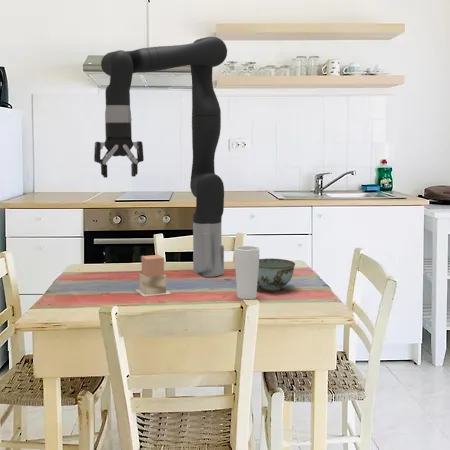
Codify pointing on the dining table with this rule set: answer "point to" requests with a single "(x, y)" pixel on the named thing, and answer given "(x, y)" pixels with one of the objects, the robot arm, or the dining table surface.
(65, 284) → the dining table surface
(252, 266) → the drinking glass
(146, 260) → the rust block
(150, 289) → the beech block
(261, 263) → the bowl
